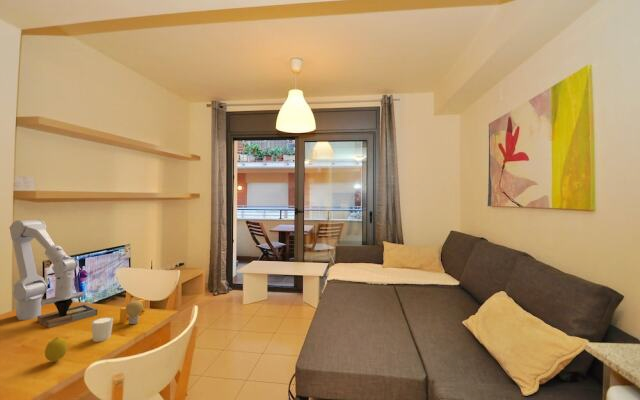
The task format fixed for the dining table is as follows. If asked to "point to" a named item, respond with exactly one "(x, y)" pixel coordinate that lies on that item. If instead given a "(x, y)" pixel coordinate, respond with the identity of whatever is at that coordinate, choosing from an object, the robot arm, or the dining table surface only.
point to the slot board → (54, 319)
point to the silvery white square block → (80, 310)
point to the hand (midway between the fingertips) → (62, 317)
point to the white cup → (102, 328)
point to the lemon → (56, 349)
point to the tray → (89, 313)
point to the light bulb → (134, 311)
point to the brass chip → (71, 312)
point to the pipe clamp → (124, 316)
